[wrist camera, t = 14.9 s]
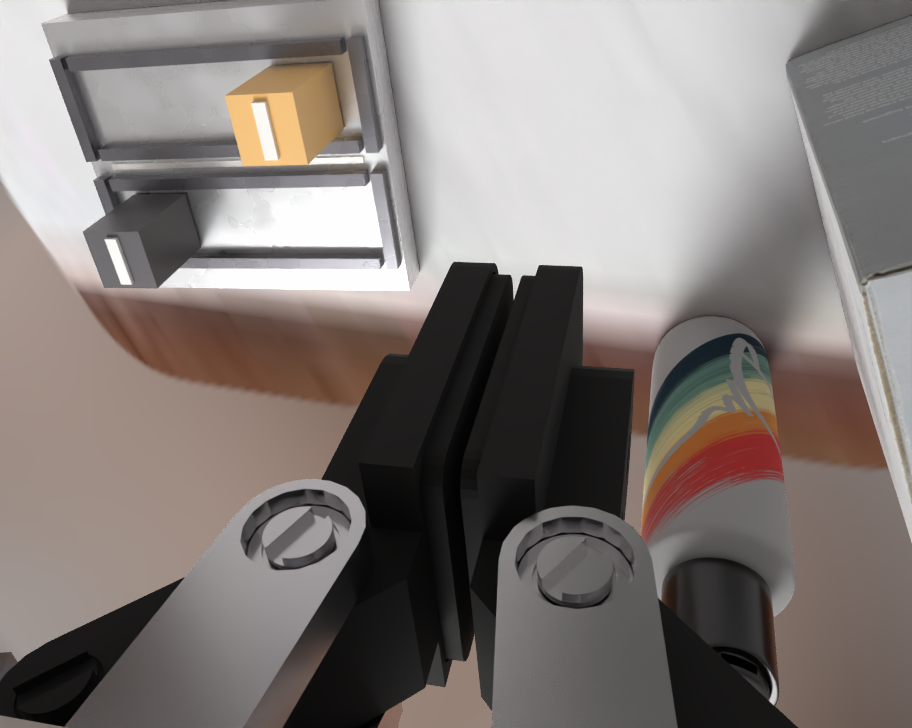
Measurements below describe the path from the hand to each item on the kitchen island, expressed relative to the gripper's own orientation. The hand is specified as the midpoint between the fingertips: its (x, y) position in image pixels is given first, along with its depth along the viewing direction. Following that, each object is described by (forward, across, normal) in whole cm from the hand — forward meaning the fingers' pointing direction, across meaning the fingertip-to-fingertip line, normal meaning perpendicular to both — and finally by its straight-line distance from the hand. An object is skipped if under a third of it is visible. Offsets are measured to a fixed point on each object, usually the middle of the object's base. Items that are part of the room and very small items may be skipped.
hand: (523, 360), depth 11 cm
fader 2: (+26, +14, +5) cm, 30 cm away
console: (+28, +19, +8) cm, 35 cm away
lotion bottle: (+28, -5, +19) cm, 35 cm away
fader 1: (+26, +23, +11) cm, 37 cm away
